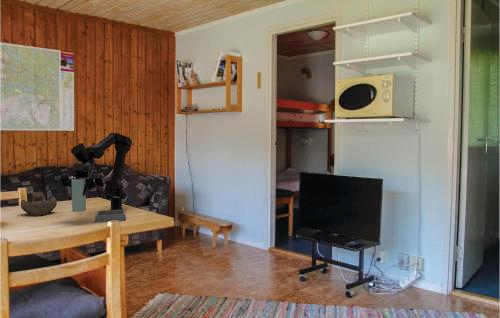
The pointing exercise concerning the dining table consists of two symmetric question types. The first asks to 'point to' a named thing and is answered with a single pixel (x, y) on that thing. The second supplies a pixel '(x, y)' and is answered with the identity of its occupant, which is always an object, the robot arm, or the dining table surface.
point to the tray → (109, 215)
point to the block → (78, 195)
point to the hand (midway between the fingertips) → (77, 195)
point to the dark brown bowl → (38, 204)
